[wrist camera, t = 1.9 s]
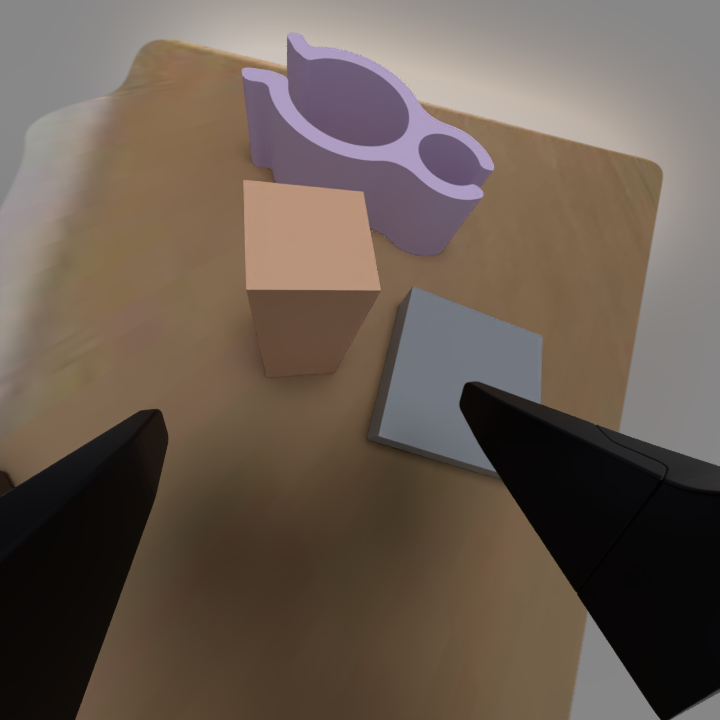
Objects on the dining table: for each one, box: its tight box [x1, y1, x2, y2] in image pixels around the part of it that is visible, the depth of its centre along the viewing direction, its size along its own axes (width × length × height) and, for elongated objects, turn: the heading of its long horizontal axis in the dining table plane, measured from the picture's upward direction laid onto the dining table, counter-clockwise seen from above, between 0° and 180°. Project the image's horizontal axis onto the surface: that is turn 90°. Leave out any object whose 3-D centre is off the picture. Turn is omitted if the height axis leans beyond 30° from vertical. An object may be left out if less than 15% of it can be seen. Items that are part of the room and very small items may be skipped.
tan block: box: [243, 180, 381, 378], centre depth 17 cm, size 5×5×12 cm
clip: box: [242, 33, 494, 256], centre depth 26 cm, size 20×12×7 cm, turn 65°
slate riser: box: [367, 287, 542, 480], centre depth 23 cm, size 12×12×3 cm
